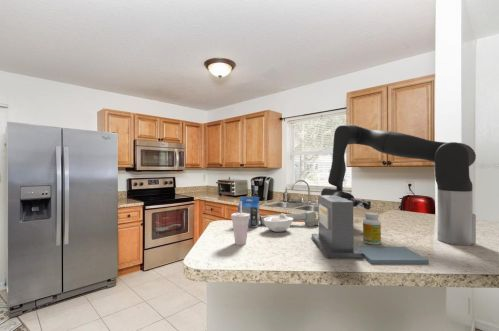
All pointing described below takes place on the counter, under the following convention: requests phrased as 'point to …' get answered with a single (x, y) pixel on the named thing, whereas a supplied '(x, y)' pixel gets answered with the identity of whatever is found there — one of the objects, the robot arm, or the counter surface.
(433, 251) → the counter surface
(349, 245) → the mounted unit
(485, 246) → the counter surface
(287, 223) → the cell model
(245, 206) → the label tape box
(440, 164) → the robot arm
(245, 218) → the smoothie
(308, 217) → the grey knobbed handle
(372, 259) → the mat
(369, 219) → the supplement bottle
